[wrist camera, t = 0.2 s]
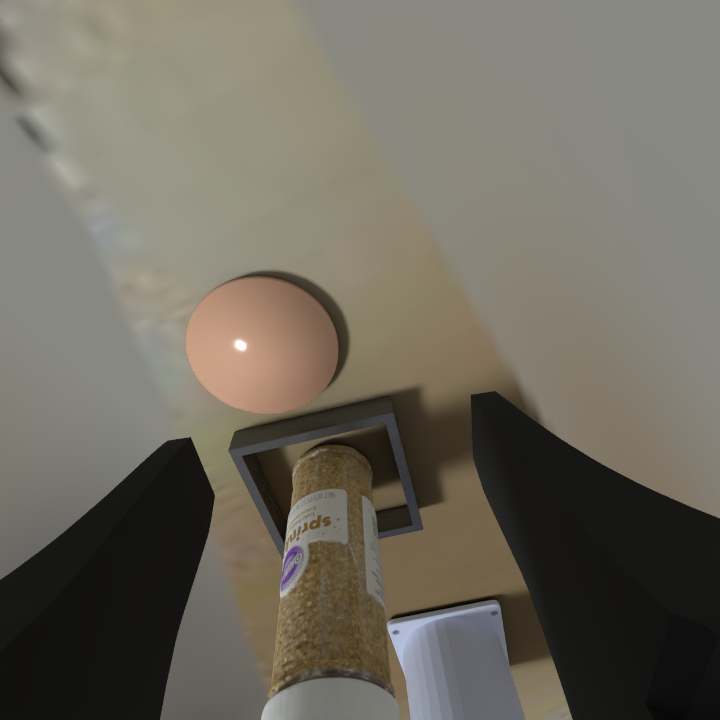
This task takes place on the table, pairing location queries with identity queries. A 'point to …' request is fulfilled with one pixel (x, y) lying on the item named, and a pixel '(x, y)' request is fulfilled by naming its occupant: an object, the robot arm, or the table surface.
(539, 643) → the table surface
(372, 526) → the sprinkles bottle
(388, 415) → the square socket
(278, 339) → the terracotta coaster
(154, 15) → the table surface
